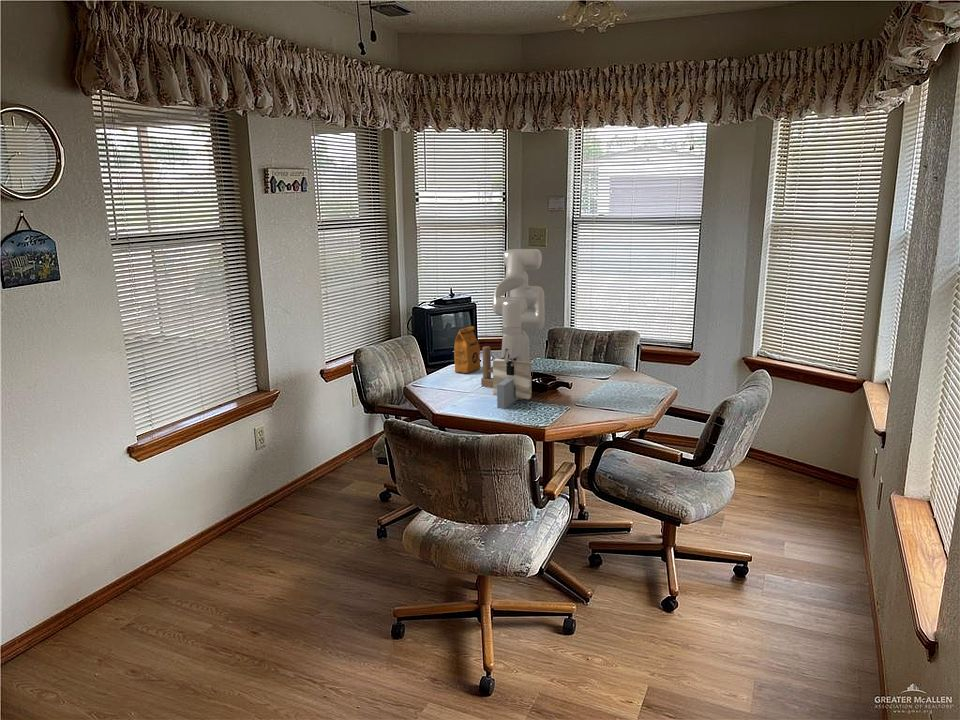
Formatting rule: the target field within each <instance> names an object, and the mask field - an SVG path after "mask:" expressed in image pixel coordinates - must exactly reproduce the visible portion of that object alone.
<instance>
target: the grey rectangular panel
mask: <svg viewBox="0 0 960 720" xmlns="http://www.w3.org/2000/svg"><path fill="white" fill-rule="evenodd" d="M496 397H497V398H496V403H497V404H496V405H497V406H496V407H497V409H499V408H501V410H505V409H506V408H508V407H509V406H510V405H512V404H513V403H515V402H516V401H517V400H519V399H520V398H516V395H515V386H514V380H513V379H508V378H507V379H505V380H503V381H502V382H500V383H499V384H497V395H496Z"/></svg>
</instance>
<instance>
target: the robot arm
mask: <svg viewBox="0 0 960 720" xmlns="http://www.w3.org/2000/svg"><path fill="white" fill-rule="evenodd" d="M502 254H503V255H502V257H503V263H504V265H505V278H504V279H502V280H501V281H499V283H497V286H496V287H495V289H494V291H493V296H492V312H493V313H494V314H495V315H497V316H502V341H501V358H503V359H504V358H505V360H504V361H505V362H506V371H507V375H514V366H513V360H514V361H525V362H530V338H529V335H528V334H527V333H526V332H525V331H527V330H534V331H537V330H538V331H539V330H543V328H544V327H545V320H546V319H545V315H546V314H545V292H544V288H542V287H541V286H539V285H529V274H528V273H527V271H529V270H530V271H533V270H535V271H536V270H539V269H540V267H541V265H542V261H543V254H542V252H541V251H540V249H538V248H513V249H512V248H511V249H507V250H504V252H503V253H502ZM507 292H509V296H503V295H504V294H506V293H507ZM528 307H532V308H534V309H530V308H529V309H528ZM509 360H511V361H509Z"/></svg>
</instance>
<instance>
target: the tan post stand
mask: <svg viewBox="0 0 960 720" xmlns="http://www.w3.org/2000/svg"><path fill="white" fill-rule="evenodd" d="M491 357H492V356H491V346H488V345H486V346H483V347H482V377H481V383H480V384H481V387H485V388H491V389H493V377H492V374H493V365H492V364H491V363H492V361H491V359H492V358H491ZM499 359H503V358H502V357H500V358H499ZM503 360H505V358H504V359H503Z"/></svg>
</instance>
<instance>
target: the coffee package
mask: <svg viewBox="0 0 960 720" xmlns="http://www.w3.org/2000/svg"><path fill="white" fill-rule="evenodd" d="M474 330H476V329H475V326H473V325H471V326H468V327H464V328H461V329H459V331H458V332H457V335H456V337H455V340H454V347H453V349H454V350H453V351H454V353H453V355H454V357H453V358H454V372H455V373H458V374H459V373H461V374H462V373H463V374H469V373H473V372H476V371H479V370H480V369H481V348H480V344H479V341H478V339H477V338H476V335H475V333H474Z"/></svg>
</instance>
